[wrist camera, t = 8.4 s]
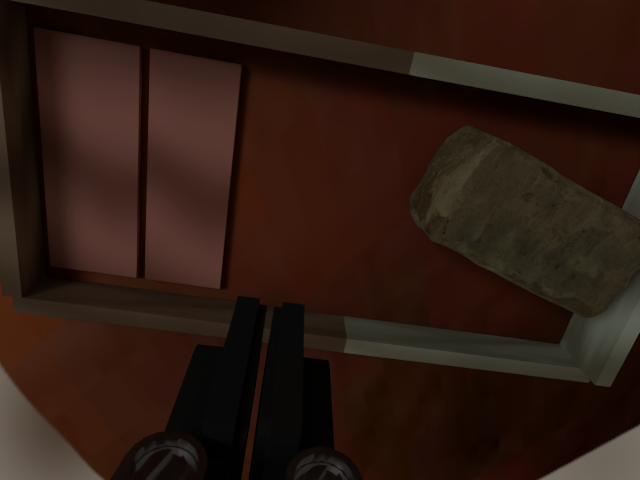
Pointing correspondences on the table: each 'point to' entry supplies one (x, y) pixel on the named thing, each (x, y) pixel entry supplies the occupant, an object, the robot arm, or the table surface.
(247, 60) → the table surface
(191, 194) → the frame
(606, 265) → the stone block
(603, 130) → the table surface
